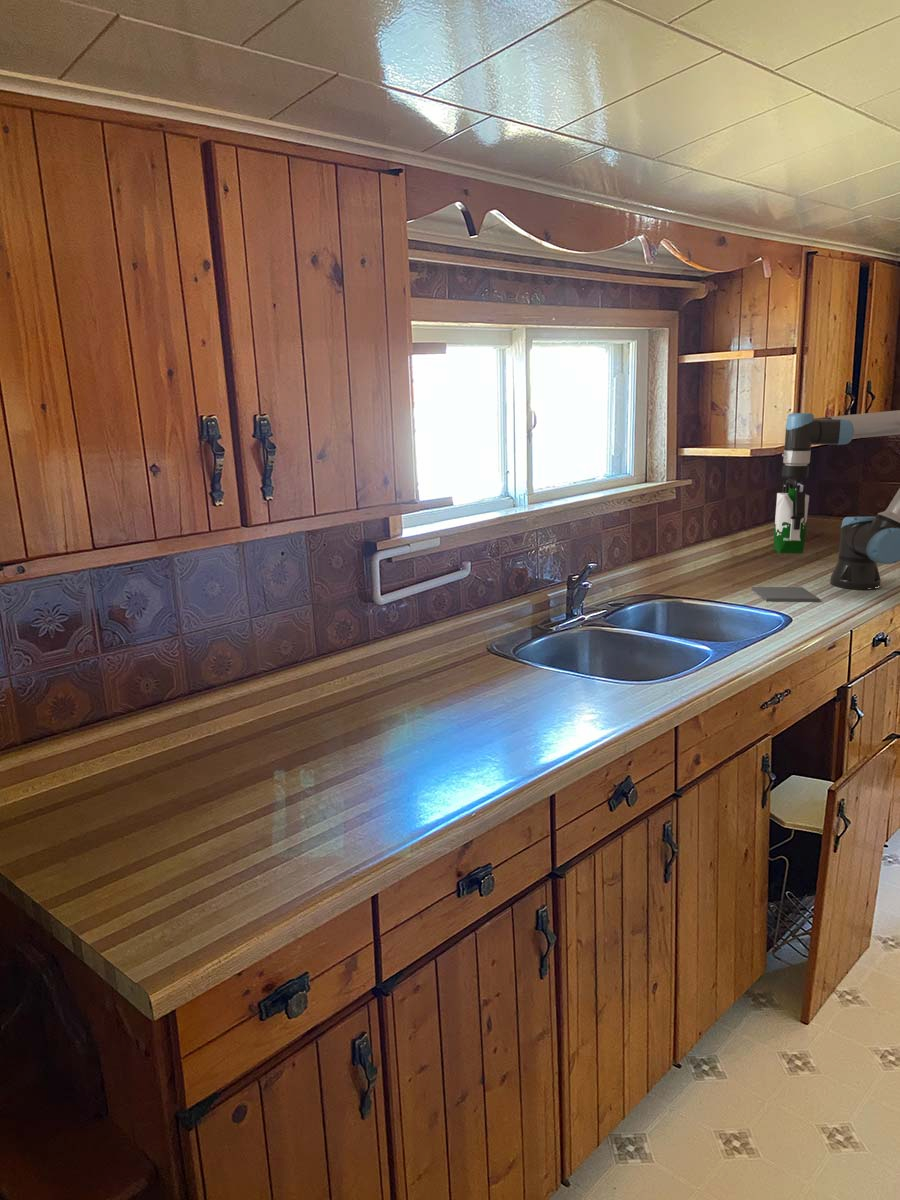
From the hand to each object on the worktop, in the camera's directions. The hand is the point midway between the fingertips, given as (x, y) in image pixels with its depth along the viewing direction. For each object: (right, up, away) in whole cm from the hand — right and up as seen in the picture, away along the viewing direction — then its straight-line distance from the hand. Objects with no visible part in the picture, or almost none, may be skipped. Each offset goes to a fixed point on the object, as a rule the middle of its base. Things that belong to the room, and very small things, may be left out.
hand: (789, 537), depth 261 cm
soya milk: (0, -4, +1) cm, 5 cm away
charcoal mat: (0, -18, +4) cm, 19 cm away
